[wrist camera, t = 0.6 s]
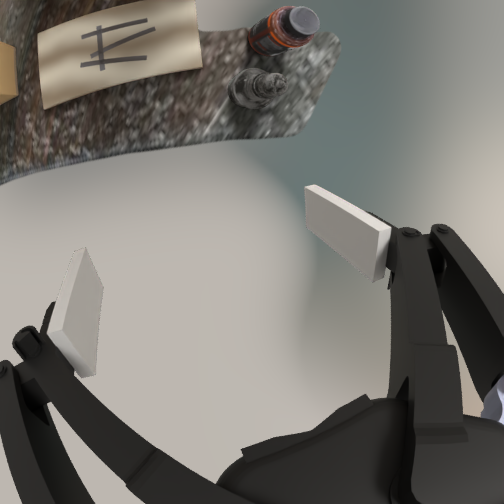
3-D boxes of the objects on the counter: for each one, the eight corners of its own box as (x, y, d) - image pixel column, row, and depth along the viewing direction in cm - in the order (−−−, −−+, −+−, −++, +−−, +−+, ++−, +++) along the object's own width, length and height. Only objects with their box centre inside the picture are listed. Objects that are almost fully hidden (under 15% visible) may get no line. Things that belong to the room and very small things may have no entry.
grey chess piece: (271, 98, 37) (315, 96, 27) (238, 116, 37) (272, 118, 27) (253, 64, 34) (293, 50, 24) (218, 82, 34) (246, 70, 24)
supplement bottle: (281, 61, 35) (324, 49, 26) (243, 52, 33) (277, 34, 23) (287, 28, 32) (329, 9, 23) (250, 18, 30) (284, -8, 21)
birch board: (40, 35, 21) (37, 33, 20) (192, -4, 26) (194, -7, 25) (46, 109, 27) (43, 109, 26) (200, 68, 32) (202, 67, 31)
